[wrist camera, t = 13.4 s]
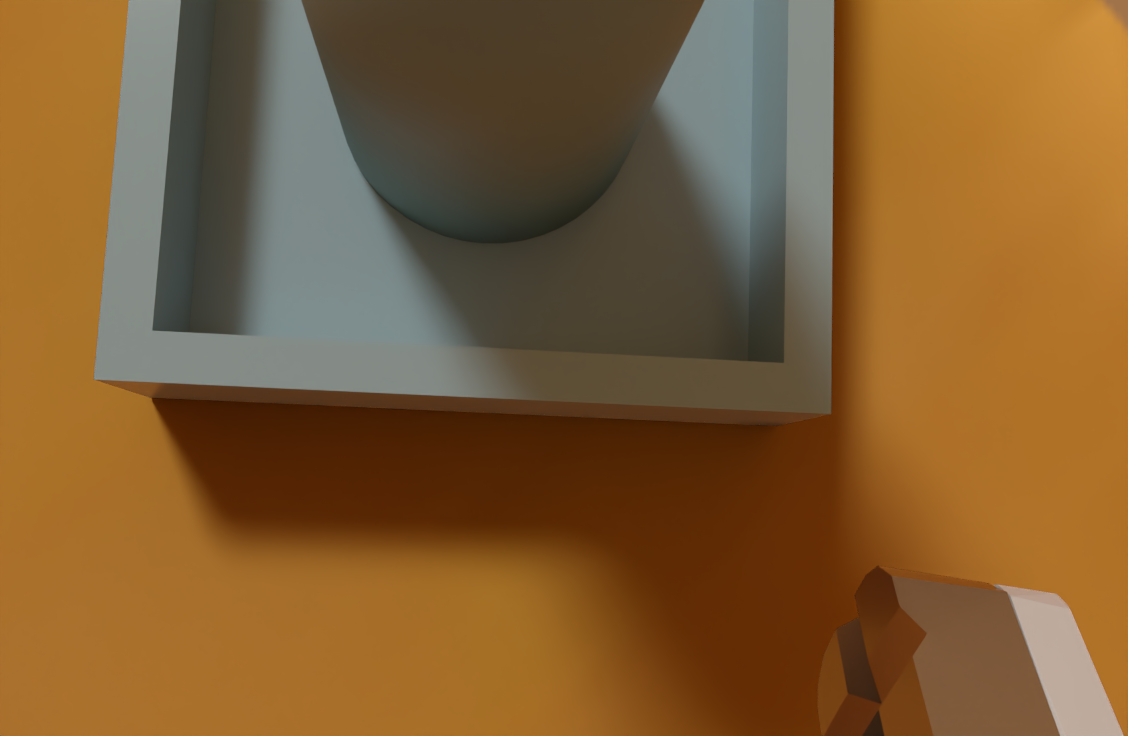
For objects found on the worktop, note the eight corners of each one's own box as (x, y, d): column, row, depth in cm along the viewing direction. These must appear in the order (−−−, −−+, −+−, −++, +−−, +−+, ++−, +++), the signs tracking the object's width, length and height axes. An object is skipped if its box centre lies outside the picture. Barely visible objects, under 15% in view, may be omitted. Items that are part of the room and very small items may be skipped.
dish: (783, -141, 22) (836, -242, 19) (776, 426, 20) (831, 414, 17) (201, -198, 21) (158, -315, 18) (150, 397, 19) (93, 379, 16)
